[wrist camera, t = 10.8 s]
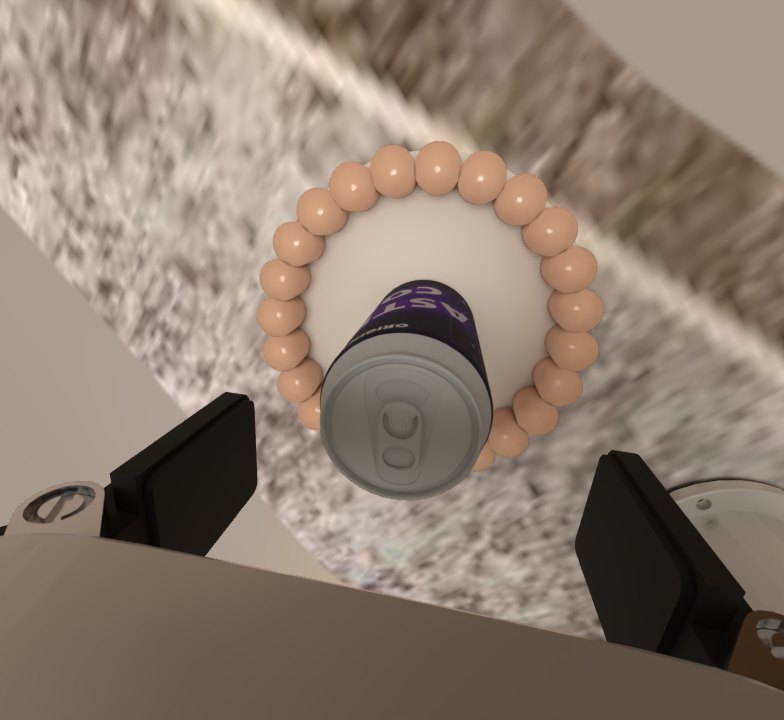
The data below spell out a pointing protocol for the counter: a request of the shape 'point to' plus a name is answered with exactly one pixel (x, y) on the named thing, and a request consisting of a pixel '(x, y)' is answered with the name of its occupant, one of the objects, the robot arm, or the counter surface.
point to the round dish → (437, 279)
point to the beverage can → (409, 395)
